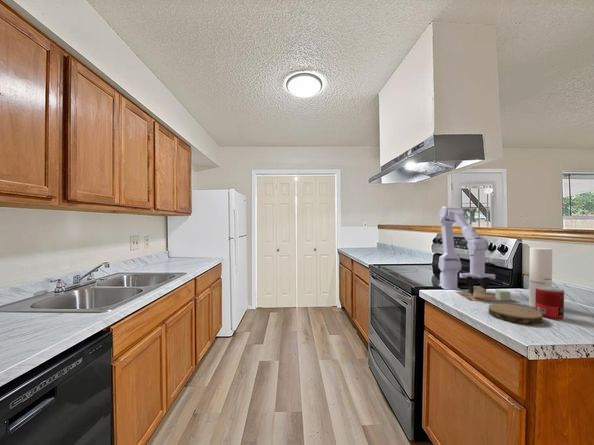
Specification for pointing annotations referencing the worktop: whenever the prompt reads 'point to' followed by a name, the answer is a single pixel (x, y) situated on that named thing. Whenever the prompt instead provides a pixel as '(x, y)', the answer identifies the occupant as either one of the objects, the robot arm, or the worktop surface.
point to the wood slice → (515, 314)
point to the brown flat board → (488, 297)
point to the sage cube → (502, 295)
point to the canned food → (550, 302)
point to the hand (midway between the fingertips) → (477, 293)
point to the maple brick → (478, 292)
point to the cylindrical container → (539, 271)
